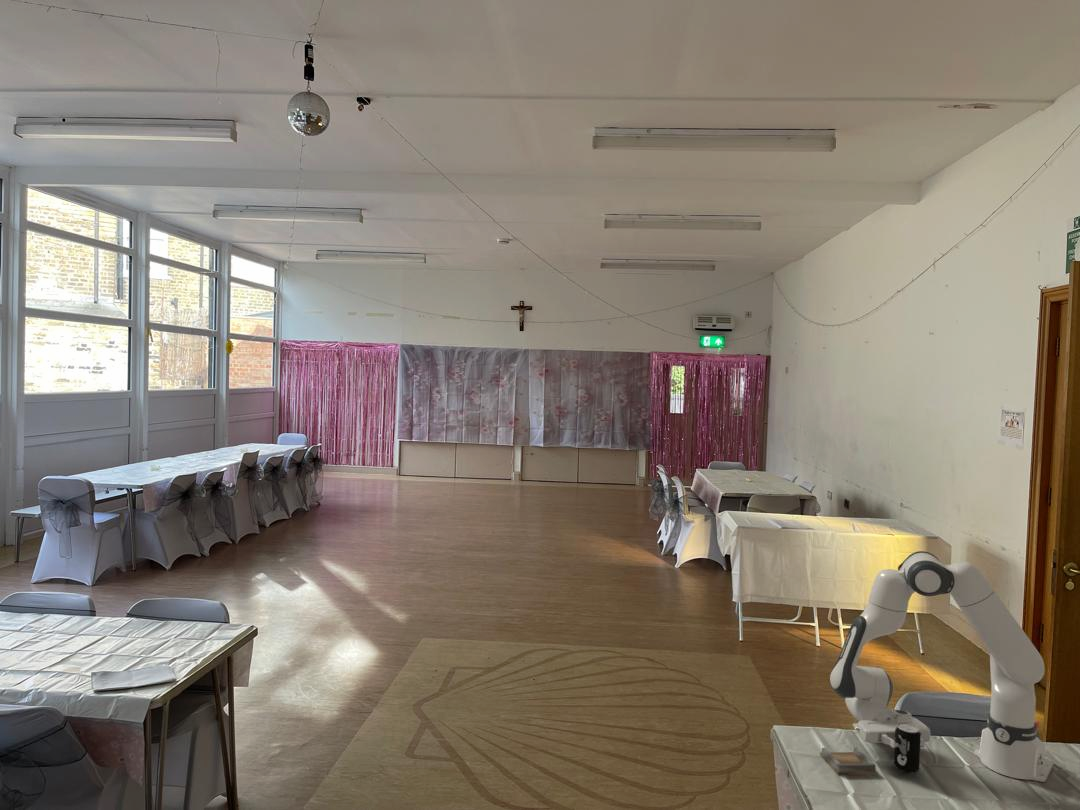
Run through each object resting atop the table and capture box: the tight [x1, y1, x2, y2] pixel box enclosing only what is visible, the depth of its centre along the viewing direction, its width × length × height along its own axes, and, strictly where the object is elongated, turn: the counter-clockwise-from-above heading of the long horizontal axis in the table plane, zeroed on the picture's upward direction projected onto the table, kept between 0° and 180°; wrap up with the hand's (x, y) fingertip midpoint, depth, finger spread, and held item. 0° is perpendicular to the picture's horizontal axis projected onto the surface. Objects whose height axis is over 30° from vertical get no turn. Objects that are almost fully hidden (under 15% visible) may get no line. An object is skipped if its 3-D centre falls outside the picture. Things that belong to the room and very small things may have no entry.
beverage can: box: [893, 723, 921, 774], centre depth 209 cm, size 7×7×12 cm
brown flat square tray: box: [819, 746, 876, 776], centre depth 213 cm, size 11×11×3 cm
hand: (909, 745), depth 208 cm, fingers closed on beverage can, 7 cm apart
